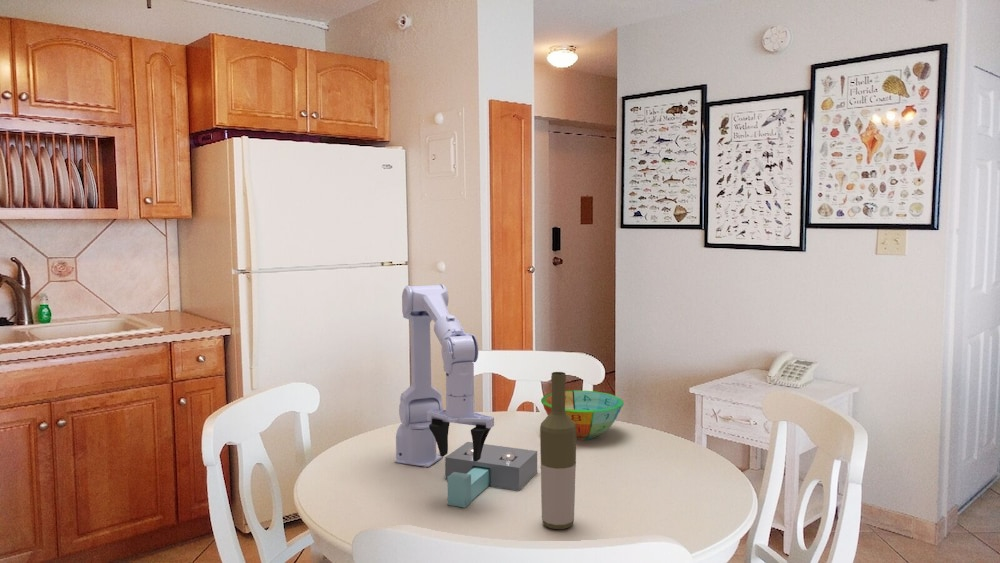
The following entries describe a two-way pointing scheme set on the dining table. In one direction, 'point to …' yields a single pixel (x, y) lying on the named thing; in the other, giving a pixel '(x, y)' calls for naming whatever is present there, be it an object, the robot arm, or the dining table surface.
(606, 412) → the bowl
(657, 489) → the dining table surface
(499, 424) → the dining table surface
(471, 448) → the plunger left
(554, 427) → the bottle
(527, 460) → the housing
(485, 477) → the cartridge
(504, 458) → the plunger right
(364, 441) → the dining table surface
